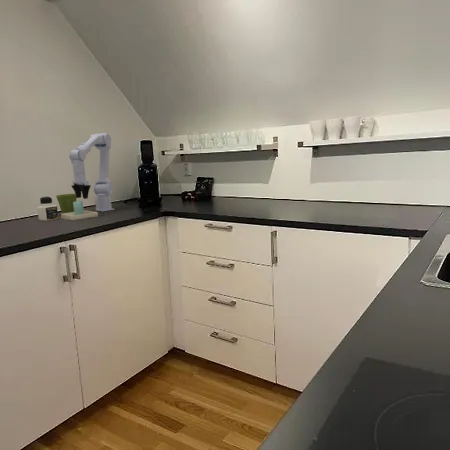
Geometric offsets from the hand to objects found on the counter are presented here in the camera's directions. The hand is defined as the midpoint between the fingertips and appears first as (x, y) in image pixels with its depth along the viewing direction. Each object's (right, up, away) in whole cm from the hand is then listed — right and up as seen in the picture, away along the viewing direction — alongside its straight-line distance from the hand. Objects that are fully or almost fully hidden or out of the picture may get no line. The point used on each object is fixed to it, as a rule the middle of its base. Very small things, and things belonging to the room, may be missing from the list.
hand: (82, 198), depth 238 cm
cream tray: (-1, -10, -2) cm, 11 cm away
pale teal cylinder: (-1, -10, -2) cm, 10 cm away
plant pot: (-11, -9, +12) cm, 19 cm away
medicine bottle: (-17, -12, -2) cm, 21 cm away
